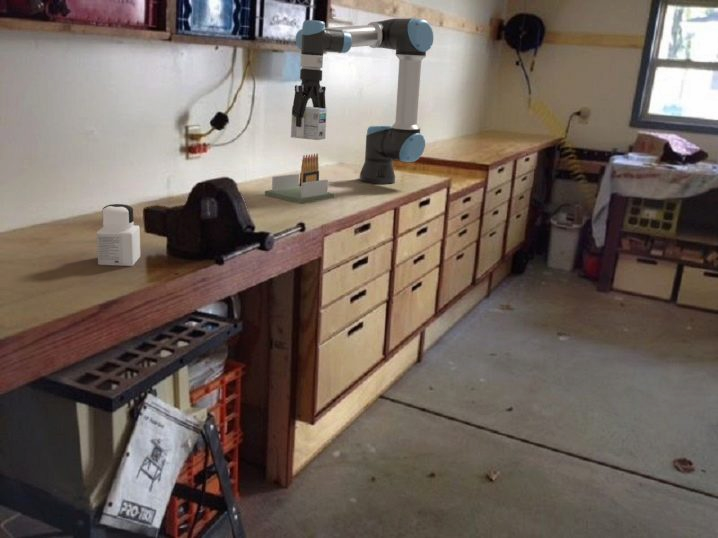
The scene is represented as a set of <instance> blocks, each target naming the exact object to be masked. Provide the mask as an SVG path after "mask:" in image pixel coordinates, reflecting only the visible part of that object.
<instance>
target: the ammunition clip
mask: <svg viewBox="0 0 718 538" xmlns="http://www.w3.org/2000/svg"><path fill="white" fill-rule="evenodd" d="M301 161H302V162H301V167H300V168H301V170H300V173H299V186H301V185H302V183H305V182H312V181H319V180H320V171H319V168H320V167H319V166H320V165H319V154H318V153H314V154H306V155H303V156H302V160H301Z"/></svg>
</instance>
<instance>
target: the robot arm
mask: <svg viewBox="0 0 718 538" xmlns="http://www.w3.org/2000/svg"><path fill="white" fill-rule="evenodd" d="M433 43H434V31H433V28H432V26H431V25H430V23H429V22H428V21H427V20H425V19H422V18H415V17H414V18H391V19H385V20H379V21H372V22H369V23H368V24H365V25H363V24H361V25H351V26H349V25H348V26H347V25H346V26H335V27H326V23H325V21H321V20H316V19H315V20H314V19H313V20H312V19H305V20H304V21H303V22H302V28H301V29H299V30H298V31H297V33H296V35H295V44H296V46H297V48H298V49H299V50H300V51H301V53H300V54H301V55H300V67H301V68H300V71H299V73H300V74H299V79H300V80H301V83H300V85H297V84H296V85H294V96H293V97H294V98H293V104H292V106H293V109H292V108H291V116H292V115H294V117H296V127H297V129H296V136H298V137H303V136H304V118H302V117H303V114H304V111H305V108H306V107H307V105H308V103H309V102H308V101H309V100H310V99H311V103H312V107H316V108H326V109H327V107H326V89H327V87H326V86H323V85H321V84H320V82H322V80H323V70H322V68H323V67H324V65H323V63H324V62H323V61H324V53H337V54H346V53H348V52H349V51H351V48H359V47H361V48H362V47H369V48H372V49H376V48H377V49H388V50H393V51H395V56H396V57H397V59H398V75H397V91H396V109H395V122H394V123H393V124H392V125H372V126H371V125H370V126H368V127H367V131H366V135H365V137H366V138H365V155H364V157H365V158H364V163H363V165H362V167H361V171H360V174H359V179H358V180H359V181H361V182H365V183H367V184H368V183H369V184H379V185H384V184H385V185H390V184H389V183H391V184H394V183H396V173H395V169H394V167H393V166H394V165H393V162H394V161H393V160H397V161H401V162H403V163H405V162H406V163H407V162H408V163H414V162H416V161H418V160H419V159H420V158H421V156H422V155H423V153H424V152H425V147H426V139H425V136H424V135H422V134H421V127H420V126H419V125H418V113H419V112H418V111H419V96H420V85H421V83H420V82H421V70H422V69H421V68H422V61H423V59H425V58H426V56H427V52H428V51H429V50H430V49H431V48H432V46H433ZM295 111H296V112H295Z"/></svg>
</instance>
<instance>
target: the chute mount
mask: <svg viewBox="0 0 718 538" xmlns="http://www.w3.org/2000/svg"><path fill="white" fill-rule="evenodd" d="M271 179H272V181H271V189H269V190H268V189H267V190H264V196H268V197H271V198H276V199H280V200H285V201H288V202H293V203H297V204H306V203H310V202H316V201H322V200H328V199H334V198H335V196H334V195H335V193H334V192H329V191H328V189H329V179H319V181H312V182H305V183H302V185H301V186H300V173H290V174H284V175H283V174H282V175H275V176H272V178H271Z"/></svg>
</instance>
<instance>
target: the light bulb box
mask: <svg viewBox="0 0 718 538" xmlns="http://www.w3.org/2000/svg"><path fill="white" fill-rule="evenodd" d="M292 109H293V105H292V106H291V110H292ZM295 112H296V111H295ZM327 112H328V111H327V107H326V108H316V107H313V106H306V108H305V111H304V114H303V117H302V118H304V136H303V137H298V136H296V129H297V127H296V117H294V115H292V114H291V127H290V128H291V129H290V138H294V139H303V140H313V141H320V140H321V141H322V140H325V139H326V131H327V129H326V128H327Z"/></svg>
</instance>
